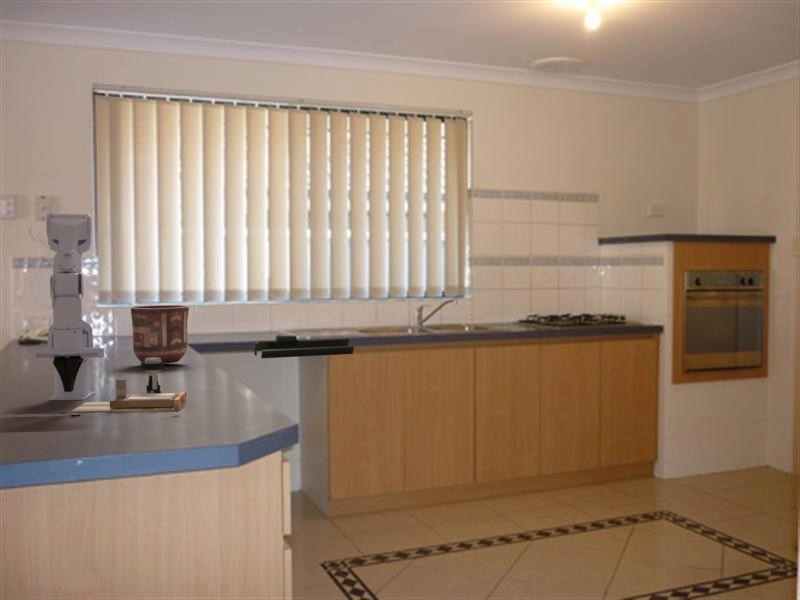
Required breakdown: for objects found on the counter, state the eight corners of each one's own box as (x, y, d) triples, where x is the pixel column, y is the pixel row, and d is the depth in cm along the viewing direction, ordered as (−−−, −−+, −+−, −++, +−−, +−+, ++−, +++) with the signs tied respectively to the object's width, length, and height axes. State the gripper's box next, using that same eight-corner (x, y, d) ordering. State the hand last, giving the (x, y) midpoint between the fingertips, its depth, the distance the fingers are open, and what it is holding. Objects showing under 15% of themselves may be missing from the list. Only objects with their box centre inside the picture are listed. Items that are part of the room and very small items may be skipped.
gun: (354, 360, 278) (358, 341, 275) (257, 365, 264) (259, 345, 260) (349, 350, 284) (352, 331, 280) (253, 355, 269) (255, 335, 266)
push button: (169, 402, 181) (168, 359, 181) (145, 404, 179) (144, 360, 178) (162, 398, 187) (162, 356, 187) (139, 400, 184) (138, 357, 184)
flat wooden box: (85, 406, 176) (85, 393, 176) (186, 404, 179) (186, 391, 179) (70, 416, 165) (70, 401, 165) (178, 413, 168) (178, 399, 168)
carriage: (118, 401, 176) (118, 376, 175) (178, 400, 177) (178, 375, 177) (109, 407, 168) (109, 382, 167) (172, 406, 169) (172, 381, 169)
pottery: (172, 365, 246) (171, 308, 245) (121, 364, 249) (120, 307, 249) (198, 359, 263) (197, 305, 262) (150, 357, 267) (149, 304, 266)
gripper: (25, 330, 165) (27, 394, 165) (97, 329, 167) (99, 393, 167) (37, 327, 172) (38, 389, 172) (106, 327, 174) (107, 388, 174)
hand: (68, 391), depth 170 cm, fingers closed
